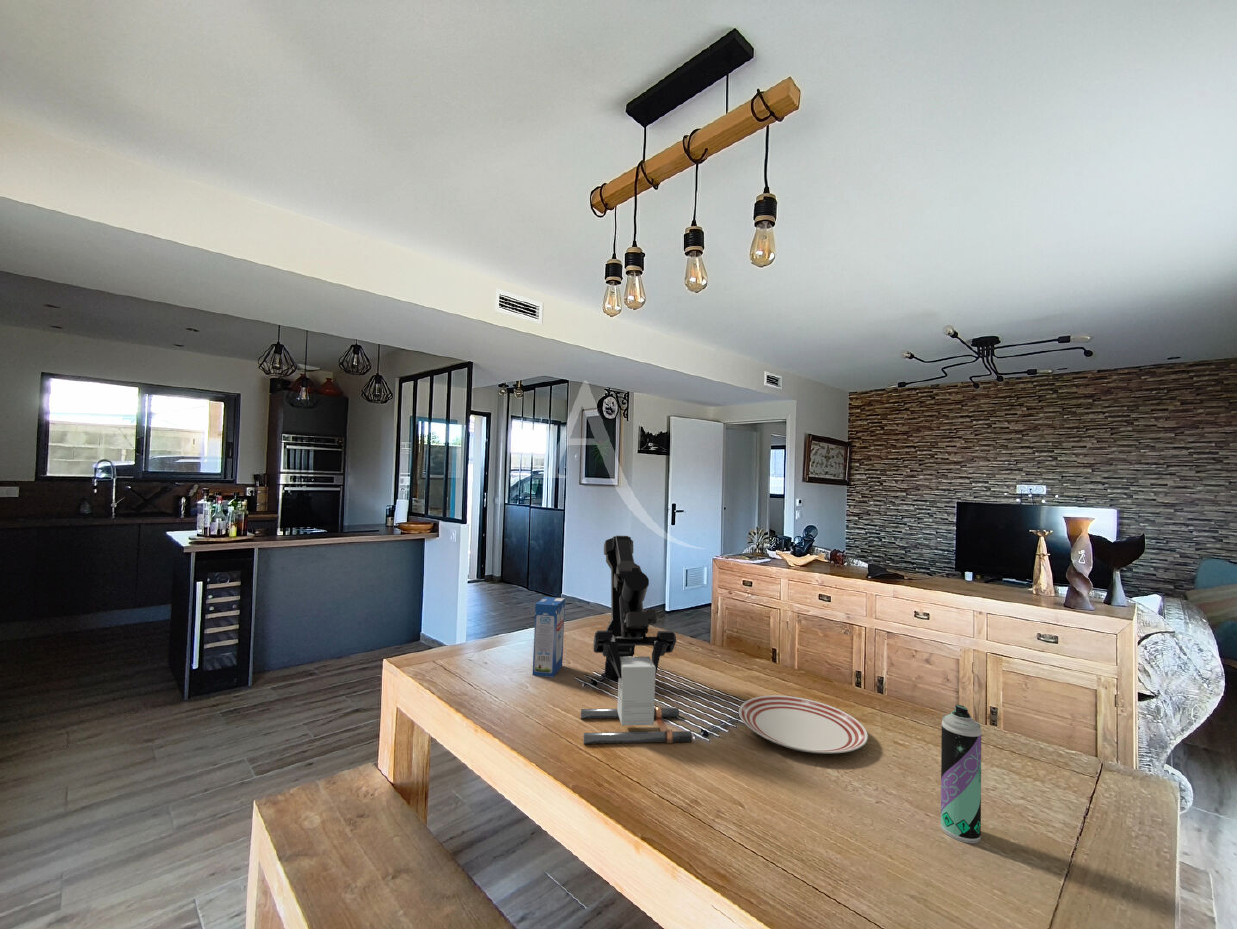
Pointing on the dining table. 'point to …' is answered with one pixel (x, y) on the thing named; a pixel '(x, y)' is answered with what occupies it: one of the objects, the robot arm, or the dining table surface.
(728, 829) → the dining table surface
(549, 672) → the milk carton
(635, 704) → the supplement box
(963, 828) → the spray can
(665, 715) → the pipe track
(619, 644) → the robot arm
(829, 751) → the dinner plate
